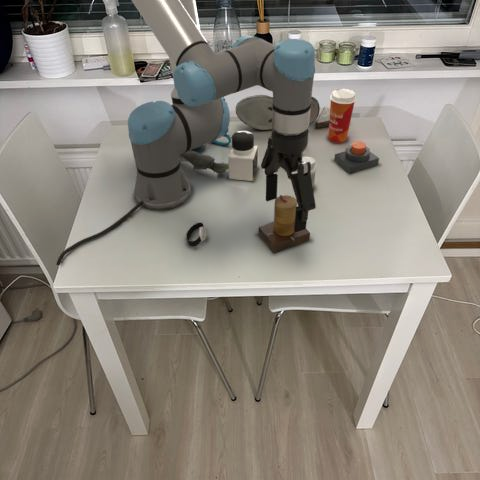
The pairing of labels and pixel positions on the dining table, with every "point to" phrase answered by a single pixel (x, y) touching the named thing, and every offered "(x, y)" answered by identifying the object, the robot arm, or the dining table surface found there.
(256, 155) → the medicine bottle
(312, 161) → the pill bottle
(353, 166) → the button box
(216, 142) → the scissors
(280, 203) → the lock knob
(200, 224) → the watch
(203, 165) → the statue
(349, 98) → the paper cup
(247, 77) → the robot arm
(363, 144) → the button
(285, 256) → the dining table surface
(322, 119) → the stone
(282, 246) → the panel
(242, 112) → the shoe
